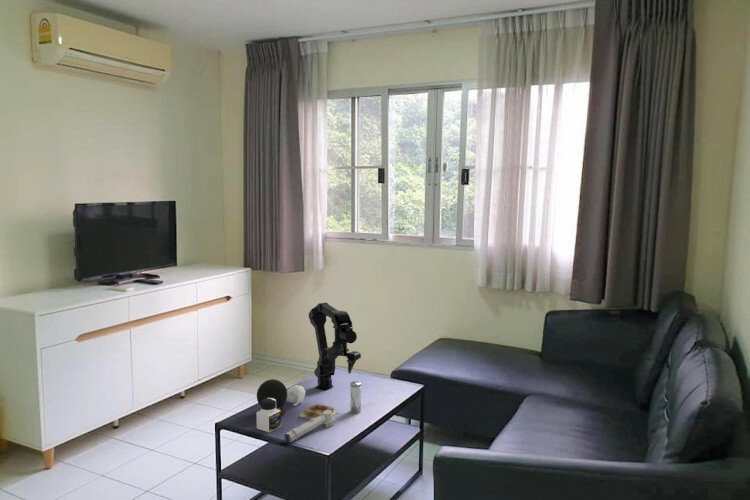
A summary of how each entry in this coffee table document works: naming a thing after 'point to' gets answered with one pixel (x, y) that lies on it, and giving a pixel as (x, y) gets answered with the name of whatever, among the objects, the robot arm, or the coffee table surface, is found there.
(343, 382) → the coffee table surface
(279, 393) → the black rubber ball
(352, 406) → the metal canister
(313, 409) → the jig
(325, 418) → the octagon-capped white rod
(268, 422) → the medicine bottle
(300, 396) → the white rounded lump
